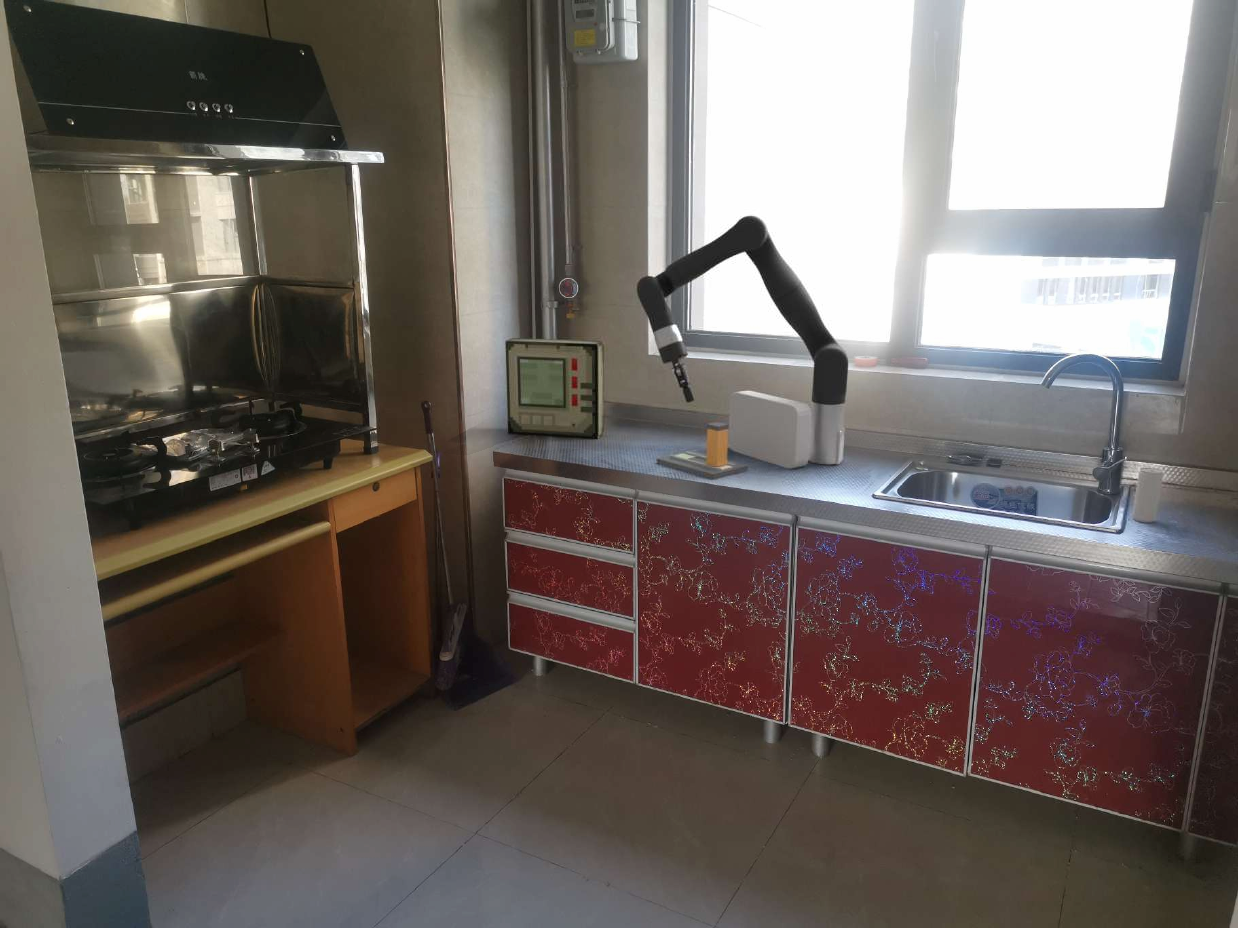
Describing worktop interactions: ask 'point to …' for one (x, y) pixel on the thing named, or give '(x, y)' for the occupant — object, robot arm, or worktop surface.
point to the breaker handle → (717, 443)
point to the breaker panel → (701, 465)
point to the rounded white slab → (770, 428)
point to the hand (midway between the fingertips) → (690, 401)
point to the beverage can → (1147, 494)
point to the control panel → (555, 387)
